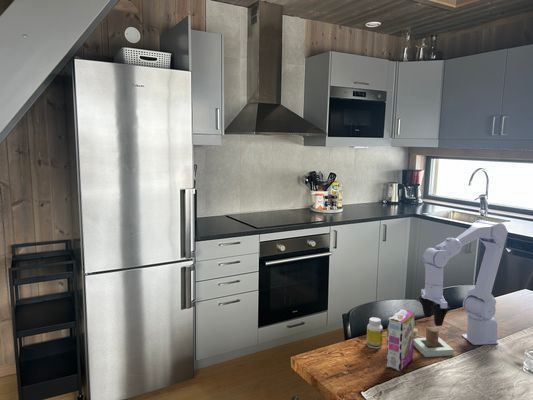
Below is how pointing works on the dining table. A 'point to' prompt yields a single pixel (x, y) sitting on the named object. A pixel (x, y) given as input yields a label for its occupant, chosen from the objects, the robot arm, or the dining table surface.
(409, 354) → the candy bar box
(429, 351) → the hole board
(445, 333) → the dining table surface
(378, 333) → the supplement bottle
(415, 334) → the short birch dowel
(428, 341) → the brown wooden peg
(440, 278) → the robot arm
